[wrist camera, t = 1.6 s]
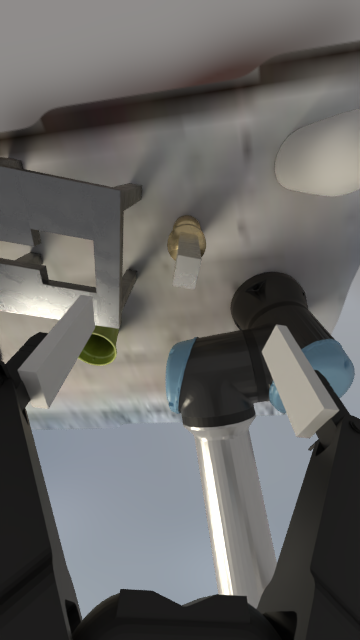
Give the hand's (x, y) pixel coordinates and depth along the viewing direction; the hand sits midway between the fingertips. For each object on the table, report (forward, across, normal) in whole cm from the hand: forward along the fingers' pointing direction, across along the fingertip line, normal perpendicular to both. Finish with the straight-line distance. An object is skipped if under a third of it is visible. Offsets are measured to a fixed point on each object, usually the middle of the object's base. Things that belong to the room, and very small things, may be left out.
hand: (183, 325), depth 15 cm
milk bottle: (+29, -15, -13) cm, 35 cm away
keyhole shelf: (+29, +19, +3) cm, 34 cm away
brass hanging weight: (+29, 0, 0) cm, 29 cm away
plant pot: (+29, +15, +25) cm, 41 cm away
